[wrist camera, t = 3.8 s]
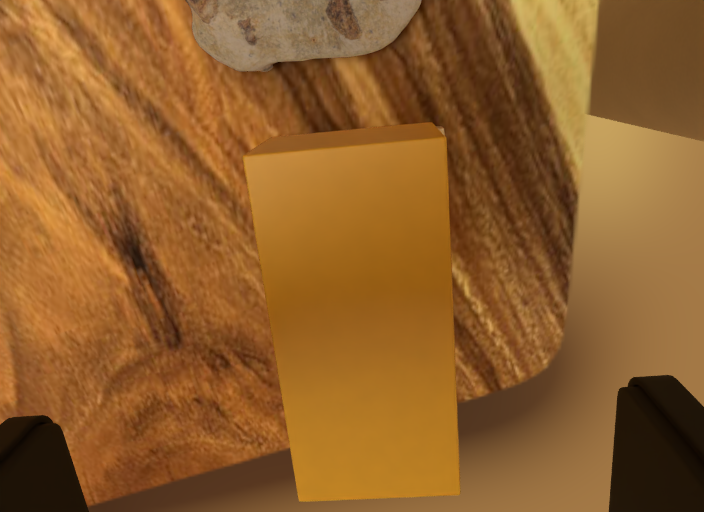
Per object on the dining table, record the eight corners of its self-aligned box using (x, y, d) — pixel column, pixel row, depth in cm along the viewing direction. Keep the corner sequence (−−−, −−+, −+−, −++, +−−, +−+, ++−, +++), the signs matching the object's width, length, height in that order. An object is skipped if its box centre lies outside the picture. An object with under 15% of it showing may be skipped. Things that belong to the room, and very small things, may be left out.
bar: (432, 121, 14) (446, 136, 11) (446, 421, 17) (460, 495, 14) (270, 136, 15) (241, 155, 12) (312, 428, 18) (298, 502, 15)
